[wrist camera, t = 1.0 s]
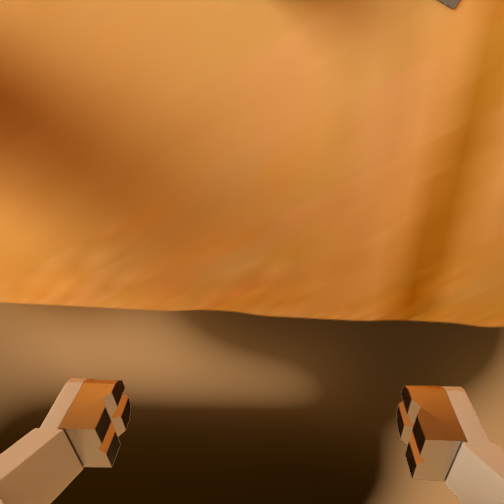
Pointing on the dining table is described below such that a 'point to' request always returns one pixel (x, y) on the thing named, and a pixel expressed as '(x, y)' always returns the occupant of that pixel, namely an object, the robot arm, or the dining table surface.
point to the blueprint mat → (450, 3)
